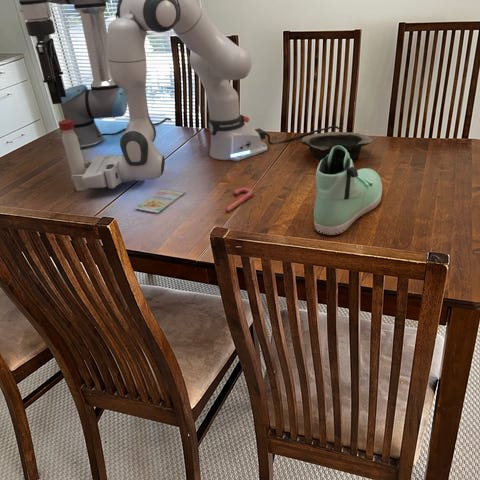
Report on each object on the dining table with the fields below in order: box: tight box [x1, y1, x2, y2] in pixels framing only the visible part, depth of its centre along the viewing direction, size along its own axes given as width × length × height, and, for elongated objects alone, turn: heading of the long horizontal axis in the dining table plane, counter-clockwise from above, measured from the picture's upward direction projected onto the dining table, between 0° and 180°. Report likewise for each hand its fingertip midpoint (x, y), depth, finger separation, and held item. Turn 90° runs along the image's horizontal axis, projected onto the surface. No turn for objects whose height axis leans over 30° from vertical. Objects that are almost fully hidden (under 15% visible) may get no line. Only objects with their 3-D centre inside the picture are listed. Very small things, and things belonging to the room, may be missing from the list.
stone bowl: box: [300, 131, 374, 164], centre depth 169 cm, size 25×25×9 cm
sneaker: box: [313, 146, 383, 236], centre depth 133 cm, size 14×35×20 cm, turn 152°
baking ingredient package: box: [134, 188, 184, 214], centre depth 151 cm, size 9×1×15 cm
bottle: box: [61, 129, 90, 192], centre depth 159 cm, size 5×5×23 cm
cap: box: [57, 119, 74, 132], centre depth 153 cm, size 4×4×2 cm
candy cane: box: [224, 187, 254, 213], centre depth 147 cm, size 6×15×2 cm, turn 145°
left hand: (59, 100), depth 149 cm, fingers open, 7 cm apart
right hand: (76, 171), depth 161 cm, fingers open, 8 cm apart
